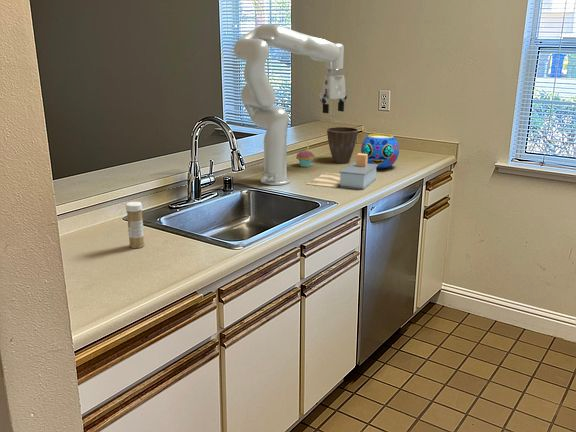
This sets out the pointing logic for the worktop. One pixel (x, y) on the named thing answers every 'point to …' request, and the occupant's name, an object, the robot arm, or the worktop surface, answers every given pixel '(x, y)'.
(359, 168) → the lid
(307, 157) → the cupcake
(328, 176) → the mat
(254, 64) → the robot arm
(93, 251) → the worktop surface
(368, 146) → the ceramic pot
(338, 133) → the plant pot
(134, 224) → the sprinkles bottle
